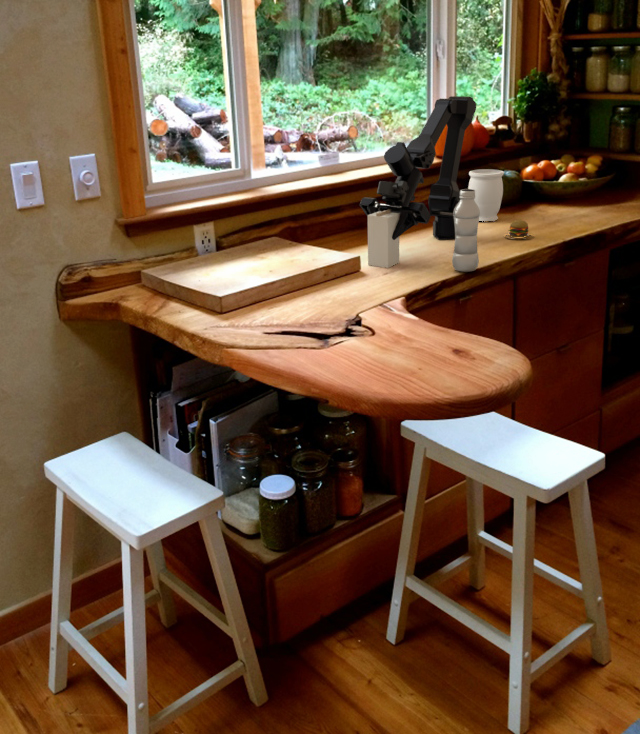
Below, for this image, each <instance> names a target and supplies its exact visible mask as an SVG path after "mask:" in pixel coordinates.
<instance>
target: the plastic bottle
mask: <svg viewBox="0 0 640 734" xmlns="http://www.w3.org/2000/svg"><path fill="white" fill-rule="evenodd" d="M459 191H460V196H459V199H460V201H459V202H458V204H457V205H456V207H455V208H454V211H453V216H454V224H455V239H454V246H453V247H454V248H453V254H452V258H451V259H452V260H451V263H452V267H453V269H454V270H455V271H458V272H465V273H468V272H469V273H470V272H474V271H476V269H478V267H479V264H480V263H479V262H480V261H479V253H478V229H479V228H478V227H479V223H480V222H479V216H480V210H479V207H478V205H477V204H476V202H475V201H474V198H475V190H474V189H468V188H464V189H459Z"/></svg>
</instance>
